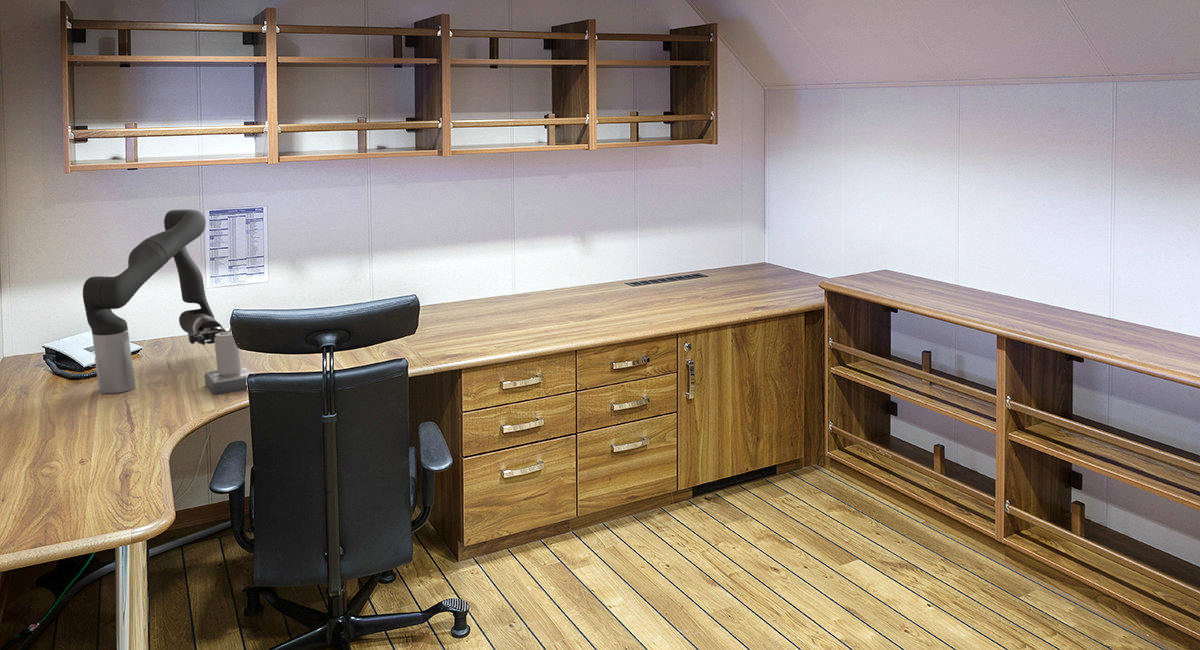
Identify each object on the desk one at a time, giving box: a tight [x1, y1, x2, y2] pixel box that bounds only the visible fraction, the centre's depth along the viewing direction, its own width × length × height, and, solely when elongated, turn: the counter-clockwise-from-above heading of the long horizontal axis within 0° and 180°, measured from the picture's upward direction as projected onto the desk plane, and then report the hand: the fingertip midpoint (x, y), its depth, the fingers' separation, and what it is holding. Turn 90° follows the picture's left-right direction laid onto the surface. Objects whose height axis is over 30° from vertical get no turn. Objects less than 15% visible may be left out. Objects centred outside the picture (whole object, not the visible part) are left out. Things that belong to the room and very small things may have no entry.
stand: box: [204, 366, 254, 396], centre depth 277 cm, size 12×12×4 cm
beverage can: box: [214, 332, 242, 376], centre depth 275 cm, size 6×6×12 cm
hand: (218, 339), depth 284 cm, fingers open, 8 cm apart
